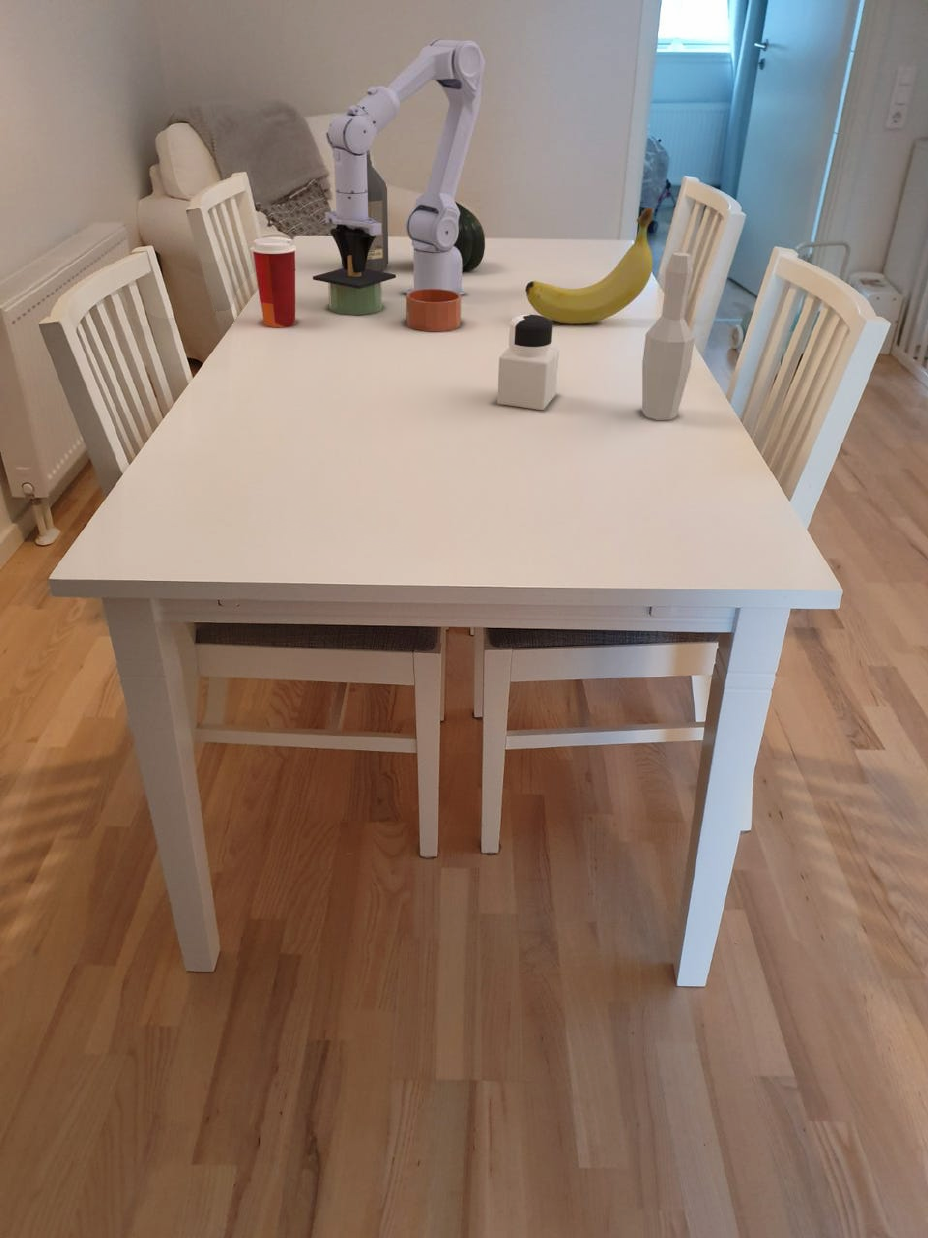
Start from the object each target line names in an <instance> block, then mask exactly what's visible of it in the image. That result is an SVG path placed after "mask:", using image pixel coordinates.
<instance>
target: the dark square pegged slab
mask: <svg viewBox="0 0 928 1238" xmlns="http://www.w3.org/2000/svg"><path fill="white" fill-rule="evenodd" d="M347 258H348V270H345V269H344V268H343V267H341V268H338V269H334V270H331V271H327V272H323V273H320V274H316V275H312V280H313V281H318V282H323V283H326V284H328V283H332V284H337V285H342V286H347V287H352V288H357V289H361V288H364V287H367V286H371V285H374V284H377V283H380V282H381V283H383V282H386V281H390V280H392V279H396V278H397V274H396V273H395V274H394V273H390V272H384V271H382V272H380V271H374V270H369V269H365V271H364V272H359V273H355V272H354V271H353V267H352V258H351V255H349V256H348V257H347Z"/></svg>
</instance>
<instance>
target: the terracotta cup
mask: <svg viewBox="0 0 928 1238" xmlns="http://www.w3.org/2000/svg"><path fill="white" fill-rule="evenodd" d="M405 321H406V325H407V326H408V327H409V328H411V329H414V330H417V331H424V332H447V331H452V330H455V329H458V328H460V327H461V326H462V325H461V324H462V323H461V321H462V295H460V294H459V293H457V292H454V291H450V290H443V289H420V290H415V291H411V292H409V293H407V294H406V295H405Z"/></svg>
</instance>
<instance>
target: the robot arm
mask: <svg viewBox="0 0 928 1238" xmlns="http://www.w3.org/2000/svg"><path fill="white" fill-rule="evenodd" d="M486 65H487V62H486V60H485V57H484V55H483V52H482V50H481V49H480V46H479V44H477V42H475V41H473V40H470V39H469V40H455V39H445V38H435V39H433V40H431V42H429V44H428V45H425V46H424V47H422V49H421V50H420V53H419V55H418V56H416V58H415V59H414V60H413V61H412V62H411V63H410V64H409V65H408V66H407V67H406V68H405V69H404V70H403V71H401V73H400V74H399V75H398V76H397V77H395V79H394V80H392V82H391V83H390V84H389V85H387V87H385V86H382V85H378V86H370V87H369V88H368V89H367V90H366V93H367V95H365V96H364V97H363V98H362V99H361V100H360V101H358V102H357V103H356V104H355V105H350V106H349V107H348V108H347V112H346V114H338V115H336V116H334V118H333V119H332V120H331V121H330V123H329V125H328V131H326V132H325V138H326V142H327V143H328V145H329V146H330V149H331V150H332V151H331V152H332V158H333V164H334V187H335V188H334V189H335V210H331V211H330V210H329V211H324V216H325V219H324V220H325V224H329V225H330V224H333V225H336V227H335V228H331V229H330V235H331V236H332V238H333V240H334V242H335V244H336V246H337V248H338V252H339V255H340V258H341V263H342V262H343V266H344V269H345V270H348V258H347V257H348V256H349V255H351V258H352V267H353V271H354V272H355V273H359V272H364V271H365V267H366V262H367V257H368V253H369V250H370V247H371V245H372V243H373V241H374V239H375V237H376V235H381V223H378V222H376V221H374V220H373V219H371V218H370V217H368V188H367V151H369V150H370V151H371V148H372V146H373V143H374V139H375V137H376V136H377V135H378V134H379V133H380V132H382V130H383V129H386V127H387V126H388V125H389V124H390V123H392V122H393V121H394V120H395V119H396V118H398V116H399V113H400V105H401V104H403V103H404V102H405V101H407V100H408V99H410V97H412V96H413V95H414V94H415V93H417V92H418V91H420V89H421V90H422V88H423V87H425V86H426V85H427V84H428V83H430V82H431V81H435V82H436V83H437V84H438V86H439V87H440V88H441V89H442V91H443V92H444V94H445V95H446V98H447V100H448V102H449V104H448V108H447V112H446V116H445V119H444V123H443V127H442V130H441V134H440V139H439V142H438V146H437V149H436V153H435V157H434V161H433V165H432V168H431V172H430V176H429V179H428V183H427V187H426V190H425V191H424V192H423V193H422V194H421V195H419V196H418V197H417V198H416V200H415V202H414V206H413V208H412V210H411V211H410V212H409V214H408V216H407V218H406V221H405V233H406V235H407V236H408V239H410V240H411V246H412V247H413V288H411V289H406V290H404V292H403V293H404V294H406V295H407V293H409V292H411V291H415V290H420V289H443V290H450V291H454V292H457V293H459V294H460V295H461V296H463V295H465V291H464V290H463V270H462V257H461V254H460V251H459V250H458V249H457V248H456V247H455V246H453V245H454V244H455V242H456V240H457V238H458V233H459V228H458V220H459V216H460V211H459V209H458V207H457V205H456V203H455V202H456V201H455V197H456V194H457V190H458V186H459V183H460V179H461V175H462V172H463V170H464V165H465V161H466V158H467V155H468V151H469V148H470V143H471V139H472V136H473V133H474V129H475V125H476V121H477V118H478V115H479V111H480V108H481V104H482V79H483V76H484V73H485V69H486ZM436 211H438V212H439V213H436ZM343 266H342V267H343Z"/></svg>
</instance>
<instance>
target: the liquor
mask: <svg viewBox="0 0 928 1238" xmlns="http://www.w3.org/2000/svg"><path fill="white" fill-rule="evenodd" d="M367 188H368V217H370V218H371V219H373V220H374V221H376V222H378V223H381V235H376V237H375V239H374V241H373V243H372V245H371V247H370V250H369V253H368V257H367V262H366V267H365V269H369V270H374V271H380V272H384V271H385V269H387V266H388V264H389V228H388V227H389V224H388V223H389V221H388V219H389V218H388V217H389V216H388V186H387V184H386V181H384V179H383V178H382V176H381V175H380V174H379V173H378V171H377V170H376V169H375V167H374V166H373V161H372V159H371V149H370V150H369V151H367ZM341 267H342V268H344V266H343V262H342V261H341Z"/></svg>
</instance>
